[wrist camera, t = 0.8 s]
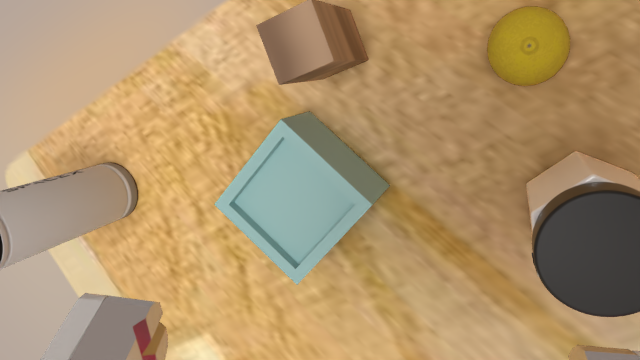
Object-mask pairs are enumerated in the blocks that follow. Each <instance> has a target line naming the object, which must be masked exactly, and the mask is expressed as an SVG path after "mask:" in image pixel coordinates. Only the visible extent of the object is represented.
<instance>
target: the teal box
mask: <svg viewBox="0 0 640 360" xmlns="http://www.w3.org/2000/svg"><path fill="white" fill-rule="evenodd" d="M389 186H390V185H389V184H388V183H387V182H386V181H385V180H384V179H382V178H381V177H380V176H379V175H378V174H377V173H376V172H375V171H374V170H373V169H372V168H371V167H369V166H368V165H367V164H366V163H365V162H364V161H363V160H362V159H361V158H360V157H359V156H358V155H356V154H355V153H354V152H353V151H352V150H351V149H350V148H349V147H348V146H347V145H346V144H345V143H343V142H342V141H341V140H340V139H339V138H338V137H337V136H336V135H335V134H334V133H333V132H332V131H330V130H329V129H328V128H327V127H326V126H325V125H324V124H323V123H322V122H321V121H320V120H319V119H318V118H316V117H315V116H314V115H313V114H312V113H311V112H310V111H309V112H306V113H302V114H298V115H295V116H291V117H288V118H284V119H281V120H280V121H279V122H278V124H277V125H276V126H275V127H274V129H273V130H272V131H271V133H270V134H269V135H268V136H267V138H266V139H265V140H264V142H263V143H262V144H261V145H260V147H259V148H258V149H257V151H256V152H255V153H254V154H253V156H252V157H251V158H250V159H249V161H248V162H247V163H246V165H245V166H244V167H243V168H242V170H241V171H240V172H239V174H238V175H237V176H236V177H235V179H234V180H233V181H232V183H231V184H230V185H229V186H228V188H227V189H226V190H225V192H224V193H223V194H222V195H221V197H220V198H219V199H218V200H217V202H216V203H215V204H214V205H215V206H216V207H217V208H218V209H219V210H221V211H222V212H223V213H224V214H225V215H226V216H227V217H228V218H229V219H230V220H231V221H232V222H233V223H234V224H235V225H236V226H237V227H238V228H239V229H240V230H241V231H242V232H243V233H244V234H245V235H246V236H247V237H248V238H249V239H250V240H251V241H252V242H253V243H254V244H256V245H257V246H258V247H259V248H260V249H261V250H262V251H263V252H264V253H265V254H266V255H267V256H268V257H269V258H270V259H271V260H272V261H273V262H274V263H275V264H276V265H277V266H278V267H279V268H280V269H281V270H282V271H283V272H284V273H285V274H286V275H287V276H288V277H289V278H291V279H292V280H293V281H294V282H295V283H296V284H298V283H299V282H300V281H301V280H302V279H303V278H304V277H305V276H306V275H307V274H308V273H309V272H310V271H311V269H312V268H313V267H314V266H315V265H316V264H317V263H318V262H319V261H320V260H321V259H322V258H323V257H324V256H325V255H326V254H327V253H328V251H329V250H330V249H331V248H332V247H333V246H334V245H335V244H336V243H337V242H338V241H339V240H340V239H341V238H342V237H343V236H344V235H345V233H346V232H347V231H348V230H349V229H350V228H351V227H352V226H353V225H354V224H355V223H356V222H357V221H358V220H359V219H360V218H361V217H362V215H363V214H364V213H365V212H366V211H367V210H368V209H369V208H370V207H371V206H372V205H373V204H374V203H375V202H376V200H377V199H378V198H379V197H380V196H381V195H382V194H383V193H384V192H385V191H386V189H387V188H388V187H389Z"/></svg>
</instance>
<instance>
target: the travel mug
mask: <svg viewBox="0 0 640 360" xmlns="http://www.w3.org/2000/svg"><path fill="white" fill-rule="evenodd" d="M136 202H137V188H136V185H135V182H134V180H133V178H132V177H131V175H130V174H129V173H128V172H127V170H125V169H124V168H123V167H121V166H119V165H117V164H114V163H104V164H100V165H96V166H92V167H88V168H85V169H81V170H77V171H73V172H70V173H66V174H62V175H58V176H55V177H51V178H47V179H43V180H40V181H36V182H32V183H28V184H25V185H21V186H17V187H13V188H10V189H6V190H2V191H0V269H3V268H5V267H7V266H10V265H12V264H15V263H17V262H19V261H22V260H24V259H26V258H29V257H31V256H34V255H36V254H38V253H41V252H43V251H45V250H48V249H50V248H53V247H55V246H57V245H60V244H62V243H64V242H67V241H69V240H72V239H74V238H76V237H79V236H81V235H83V234H86V233H88V232H91V231H93V230H95V229H98V228H100V227H102V226H105V225H107V224H110V223H112V222H114V221H117V220H119V219H121V218H124V217H126V216H128V215H129V214H130V213H131V212H132V211H133V210H134V208H135V206H136Z"/></svg>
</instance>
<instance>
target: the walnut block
mask: <svg viewBox="0 0 640 360" xmlns="http://www.w3.org/2000/svg"><path fill="white" fill-rule="evenodd" d="M256 26H257V29H258V31H259V34H260V36H261V39H262V42H263V44H264V47H265V49H266V52H267V55H268V57H269V60H270V62H271V65H272V68H273V70H274V73H275V75H276V78H277V81H278V83H279V85H281V84H289V83H297V82H305V81H313V80H321V79H325V78H327V77H329V76H332V75H334V74H336V73H339V72H341V71H344V70H346V69H348V68H351V67H353V66H355V65H358V64H360V63H362V62H365V61H367V60H368V57H367V54H366V52H365V49H364V46H363V44H362V41H361V38H360V35H359V33H358V30H357V27H356V24H355V22H354V19H353V16H352V14H351V11H350V10H348V9H344V8H341V7H338V6H334V5H331V4H327V3H324V2H320V1H317V0H307V1H305V2H303V3H301V4H299V5H297V6H295V7H293V8H291V9H289V10H287V11H285V12H283V13H281V14H279V15H277V16H275V17H273V18H271V19H269V20H267V21H265V22H262V23H260V24H258V25H256Z"/></svg>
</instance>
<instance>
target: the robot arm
mask: <svg viewBox="0 0 640 360" xmlns="http://www.w3.org/2000/svg"><path fill="white" fill-rule="evenodd" d="M162 314H163V312H162V309H161V305H160V302H152V301H144V300H137V299H129V298H122V297H114V296H106V295H97V294H88V293H85V294H84V295H82V296H81V297H80V298H79V299H78V300H77V301H76V303H75V305H74V306H73V308H72V309H71V311H70V312H69V314H68V316H67V317H66V319H65V321H64V322H63V324H62V326H61V327H60V329H59V330H58V332H57V333H56V335H55V337H54V339H53V340H52V342H51V343H50V345H49V346H48V348H47V350H46V351H45V353H44V354H43V356H42V358H41V359H40V360H165V357H166V352H167V347H168V334H167V329H166V327H165V326H164V325H163V324H162V323H160V322H159V321H160V319H161V316H162ZM568 357H569V360H640V351H631V350H628V349H617V348H606V347H595V346H584V345H577V346H575V347H573V348H572V350H571V352H570V354H569V356H568Z"/></svg>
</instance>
